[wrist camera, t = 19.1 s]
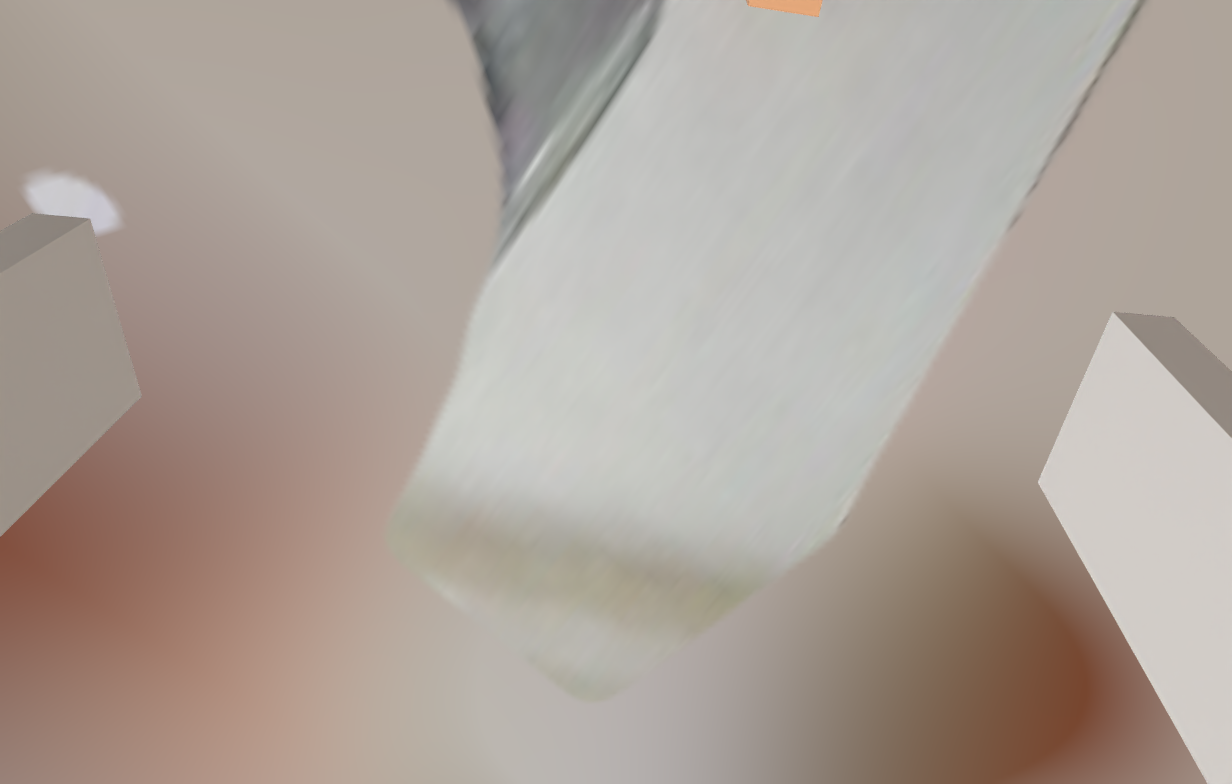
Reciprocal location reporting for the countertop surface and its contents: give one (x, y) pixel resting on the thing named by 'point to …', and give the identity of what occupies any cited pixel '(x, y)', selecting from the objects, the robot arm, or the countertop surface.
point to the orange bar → (789, 6)
